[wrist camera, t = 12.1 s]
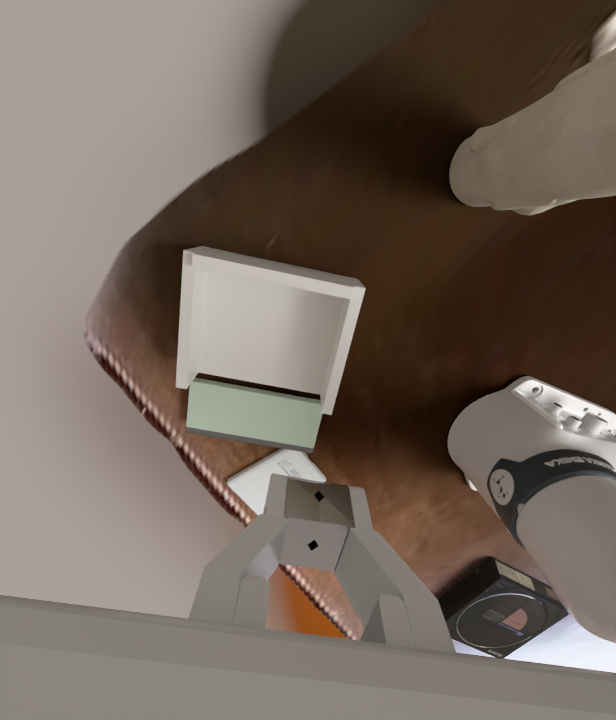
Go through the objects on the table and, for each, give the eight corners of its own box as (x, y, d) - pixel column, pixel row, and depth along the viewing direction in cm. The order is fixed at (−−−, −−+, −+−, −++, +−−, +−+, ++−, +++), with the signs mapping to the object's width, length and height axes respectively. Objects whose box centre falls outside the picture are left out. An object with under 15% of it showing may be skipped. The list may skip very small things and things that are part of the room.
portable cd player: (557, 586, 60) (574, 610, 56) (490, 635, 66) (501, 659, 62) (491, 552, 57) (503, 575, 53) (426, 606, 62) (433, 630, 59)
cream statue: (515, 106, 32) (1787, -603, 4) (533, 194, 35) (1367, 93, 7) (430, 151, 34) (995, -176, 6) (454, 232, 37) (906, 265, 9)
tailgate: (324, 405, 43) (312, 453, 45) (324, 400, 44) (312, 447, 47) (189, 381, 41) (185, 432, 44) (193, 376, 43) (188, 426, 45)
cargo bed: (357, 278, 39) (367, 290, 32) (328, 390, 44) (331, 419, 38) (202, 245, 37) (179, 251, 31) (192, 365, 43) (172, 391, 36)
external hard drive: (228, 476, 51) (294, 437, 48) (261, 509, 53) (326, 475, 50) (225, 483, 49) (294, 445, 46) (259, 517, 52) (326, 482, 49)
